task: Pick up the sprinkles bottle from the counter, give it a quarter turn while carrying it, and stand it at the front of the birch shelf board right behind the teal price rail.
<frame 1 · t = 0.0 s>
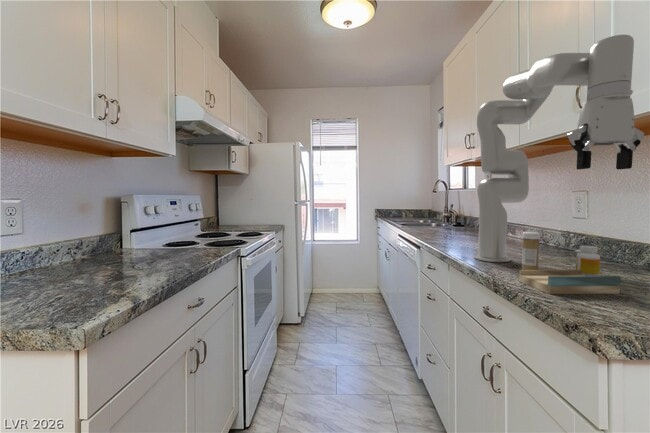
hand: (603, 168, 72), 31 cm above the worktop, tool pointing down, fingers open, 9 cm apart
sprinkles bottle: (529, 275, 96), on the worktop
supplement bottle: (586, 279, 91), on the worktop
shelf board: (565, 286, 83), on the worktop
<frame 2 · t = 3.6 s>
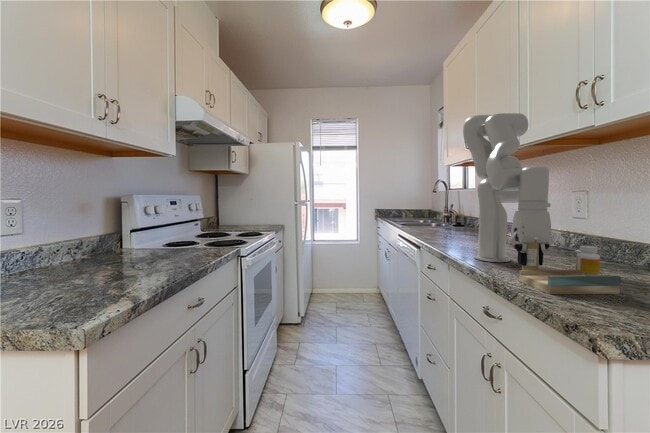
hand: (530, 264, 96), 3 cm above the worktop, tool pointing down, fingers closed on sprinkles bottle, 4 cm apart
sprinkles bottle: (529, 275, 96), on the worktop, touching gripper
everything else where it was.
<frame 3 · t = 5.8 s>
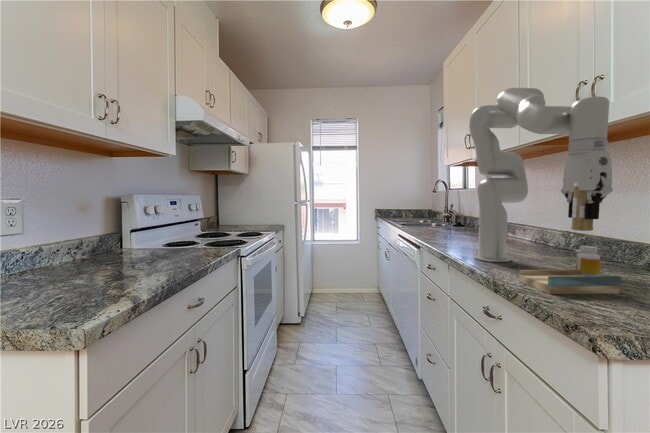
hand: (582, 217, 80), 19 cm above the worktop, tool pointing down, fingers closed on sprinkles bottle, 4 cm apart
sprinkles bottle: (581, 230, 80), point 16 cm above the worktop, touching gripper
everything else where it was.
when the fingers open (7 cm above the worktop, at t = 8.4 s): sprinkles bottle drops 1 cm, resting on shelf board.
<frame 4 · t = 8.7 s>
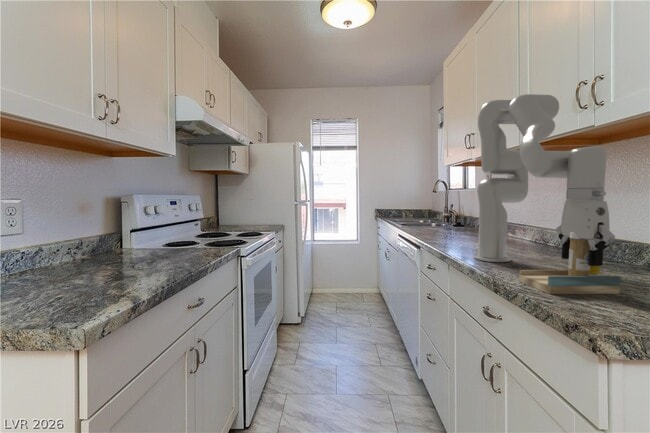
hand: (580, 261, 80), 7 cm above the worktop, tool pointing down, fingers open, 7 cm apart
sprinkles bottle: (578, 281, 81), point 2 cm above the worktop, touching shelf board
everything else where it was.
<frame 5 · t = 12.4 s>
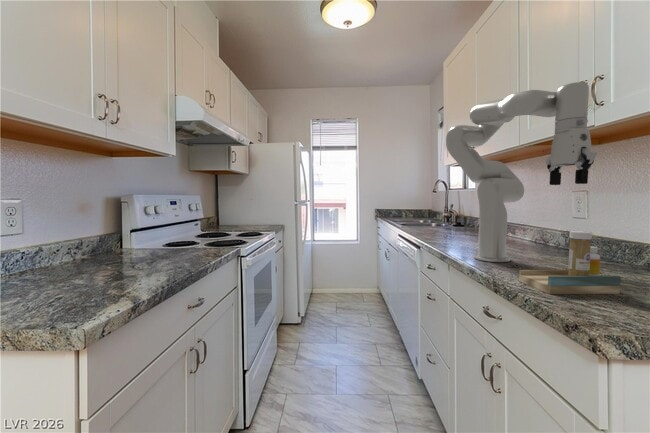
hand: (567, 184, 92), 28 cm above the worktop, tool pointing down, fingers open, 9 cm apart
nothing on the worktop moved.
at the end: sprinkles bottle inside the target area (1.4 cm from its centre), point 1.8 cm above the worktop; sprinkles bottle tilted 0°; the gripper is holding nothing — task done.
